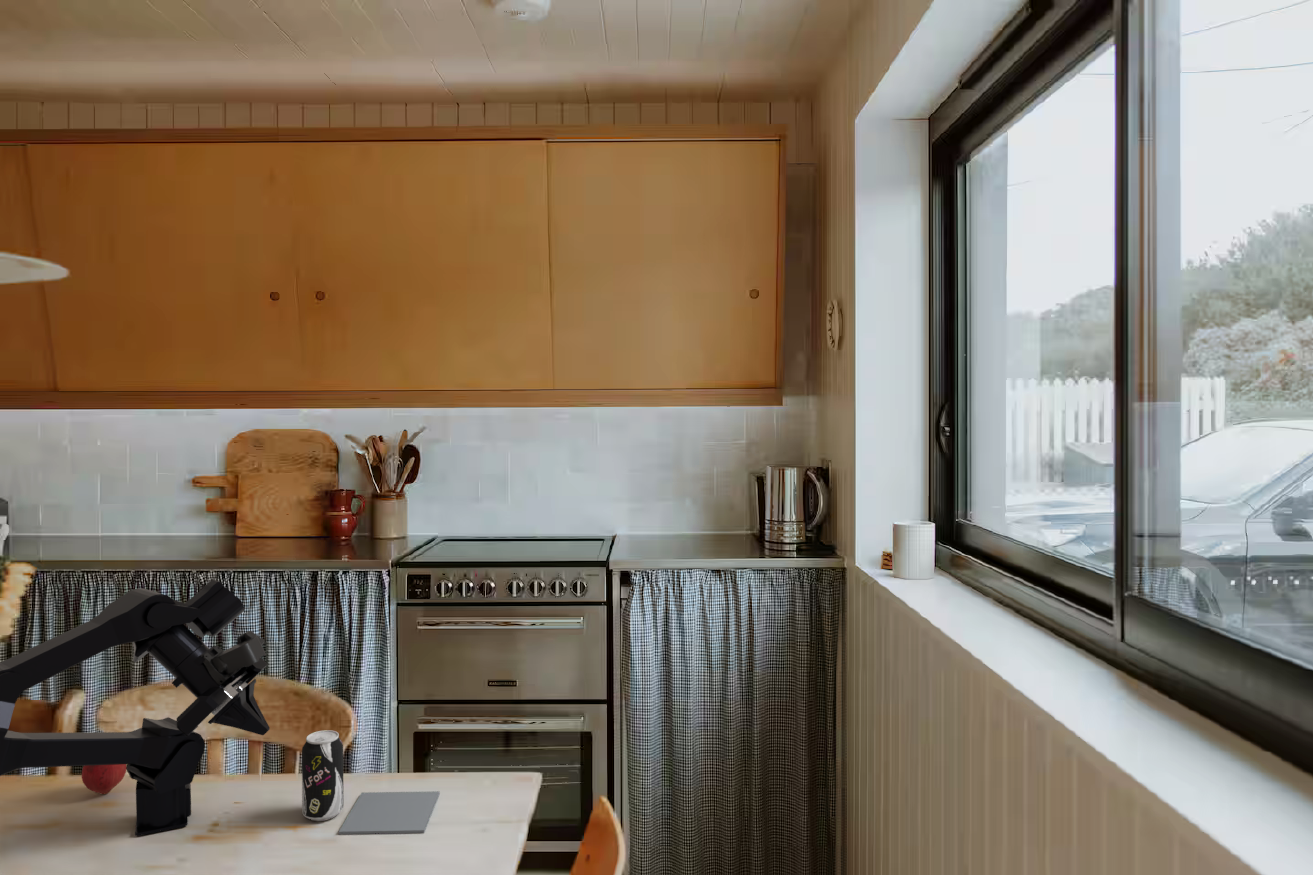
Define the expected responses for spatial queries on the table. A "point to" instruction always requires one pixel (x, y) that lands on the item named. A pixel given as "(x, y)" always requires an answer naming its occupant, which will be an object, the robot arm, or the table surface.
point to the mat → (390, 813)
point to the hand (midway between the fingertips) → (266, 732)
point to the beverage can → (322, 775)
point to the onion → (102, 777)
